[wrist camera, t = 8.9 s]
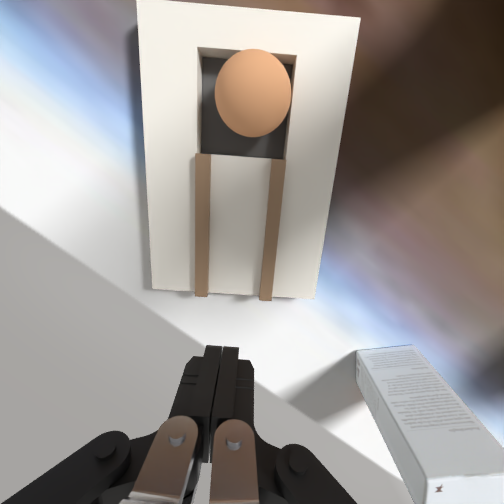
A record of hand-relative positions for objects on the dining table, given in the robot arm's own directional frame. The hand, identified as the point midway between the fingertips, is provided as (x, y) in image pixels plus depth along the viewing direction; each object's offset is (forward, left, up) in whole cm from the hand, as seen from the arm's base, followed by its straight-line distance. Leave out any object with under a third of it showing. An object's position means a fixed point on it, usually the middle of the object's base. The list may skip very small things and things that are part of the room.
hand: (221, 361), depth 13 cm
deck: (-8, 0, -13) cm, 15 cm away
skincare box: (+10, +16, -13) cm, 23 cm away
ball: (-13, +1, -10) cm, 16 cm away
